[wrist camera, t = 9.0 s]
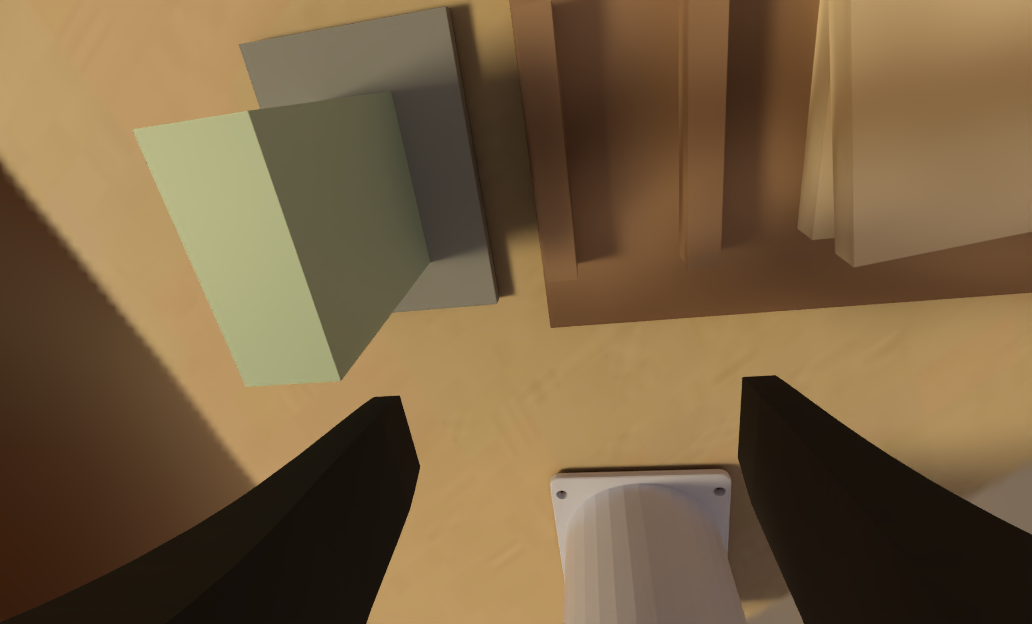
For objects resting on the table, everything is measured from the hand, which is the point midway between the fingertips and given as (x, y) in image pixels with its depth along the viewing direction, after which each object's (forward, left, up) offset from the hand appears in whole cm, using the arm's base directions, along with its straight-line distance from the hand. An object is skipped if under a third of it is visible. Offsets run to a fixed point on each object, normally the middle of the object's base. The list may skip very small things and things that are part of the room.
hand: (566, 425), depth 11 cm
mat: (+4, +7, -9) cm, 12 cm away
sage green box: (+4, +7, -9) cm, 12 cm away
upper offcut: (+4, -10, -7) cm, 13 cm away
